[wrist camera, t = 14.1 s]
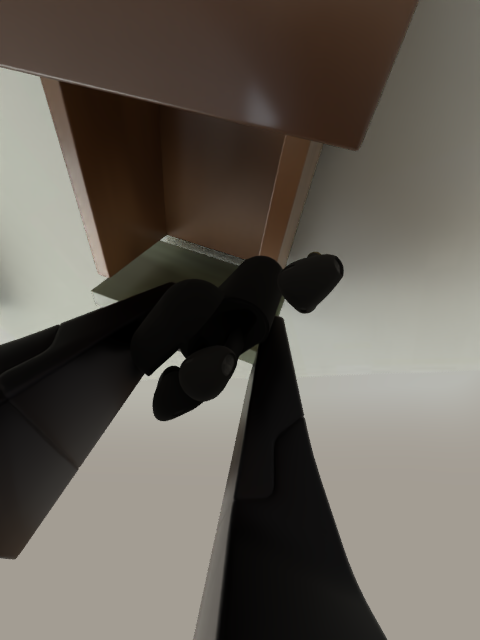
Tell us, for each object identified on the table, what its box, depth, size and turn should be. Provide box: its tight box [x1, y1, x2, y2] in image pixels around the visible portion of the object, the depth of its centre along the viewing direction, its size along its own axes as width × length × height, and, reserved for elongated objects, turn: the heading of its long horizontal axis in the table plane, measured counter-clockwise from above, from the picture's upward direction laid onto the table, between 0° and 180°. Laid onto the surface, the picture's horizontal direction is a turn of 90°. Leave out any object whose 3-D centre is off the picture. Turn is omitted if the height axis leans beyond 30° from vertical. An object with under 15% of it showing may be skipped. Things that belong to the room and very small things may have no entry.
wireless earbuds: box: [130, 252, 344, 421], centre depth 7 cm, size 7×2×5 cm, turn 142°
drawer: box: [40, 77, 323, 364], centre depth 15 cm, size 19×11×7 cm, turn 172°
